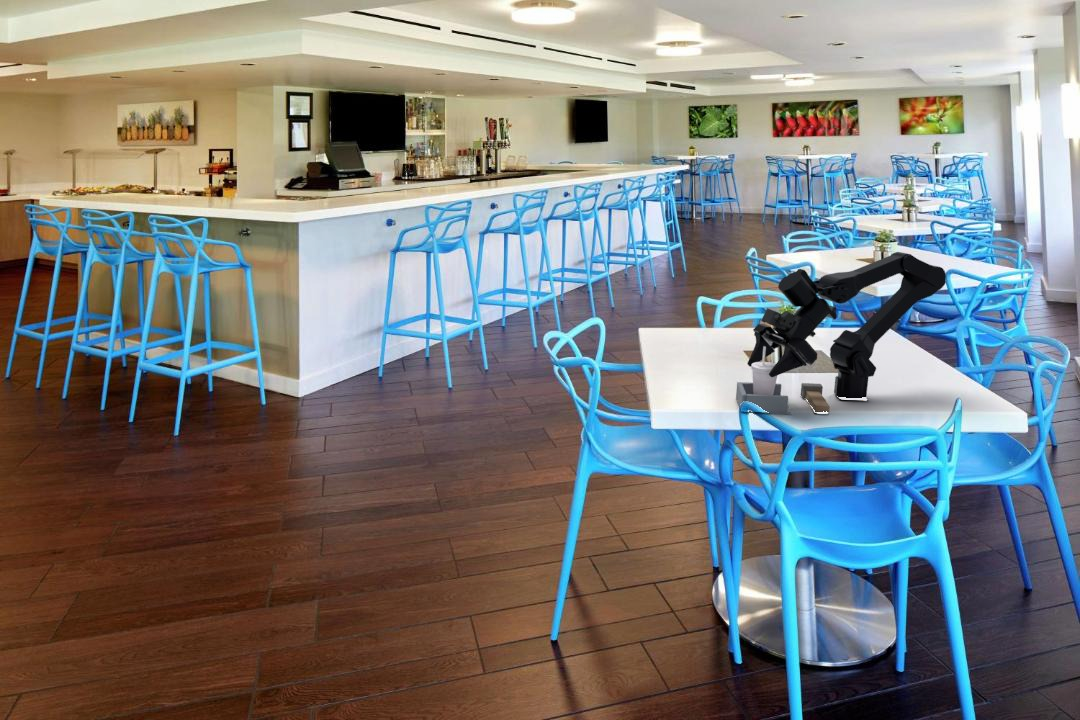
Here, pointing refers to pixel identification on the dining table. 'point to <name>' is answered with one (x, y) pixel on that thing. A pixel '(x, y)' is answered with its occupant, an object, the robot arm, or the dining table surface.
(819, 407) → the capped slat
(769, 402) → the endcap cradle
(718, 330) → the dining table surface
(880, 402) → the dining table surface
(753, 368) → the smoothie
